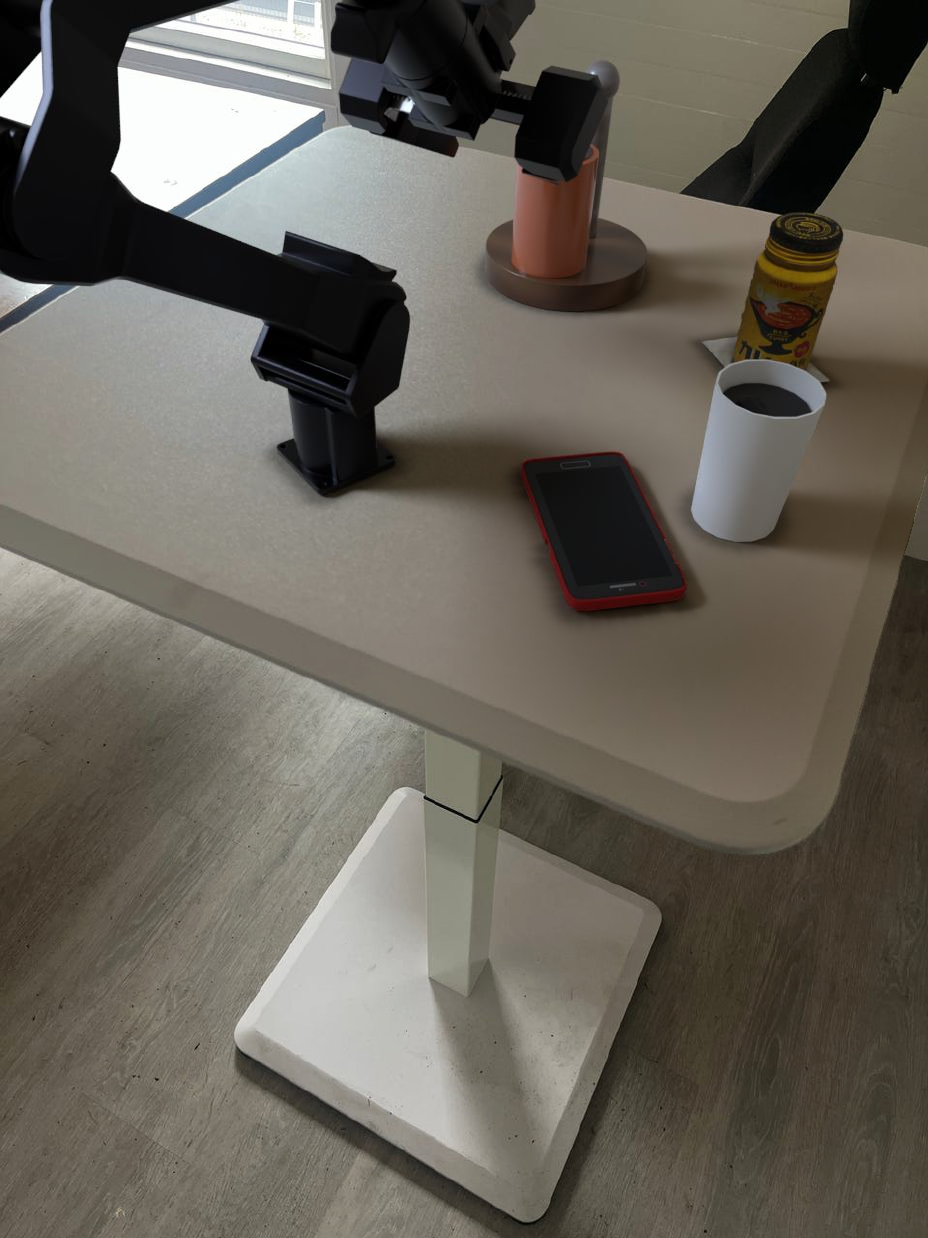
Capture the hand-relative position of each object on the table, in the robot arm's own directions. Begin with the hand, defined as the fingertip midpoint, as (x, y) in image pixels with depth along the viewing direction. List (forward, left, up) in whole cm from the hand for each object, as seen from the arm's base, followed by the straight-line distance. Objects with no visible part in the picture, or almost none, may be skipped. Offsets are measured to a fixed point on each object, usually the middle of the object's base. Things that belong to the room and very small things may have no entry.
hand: (505, 164), depth 71 cm
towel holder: (+5, -12, -14) cm, 18 cm away
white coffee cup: (-29, +2, -14) cm, 32 cm away
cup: (+3, -8, -11) cm, 14 cm away
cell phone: (-25, +11, -14) cm, 31 cm away
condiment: (-17, -15, -14) cm, 27 cm away
